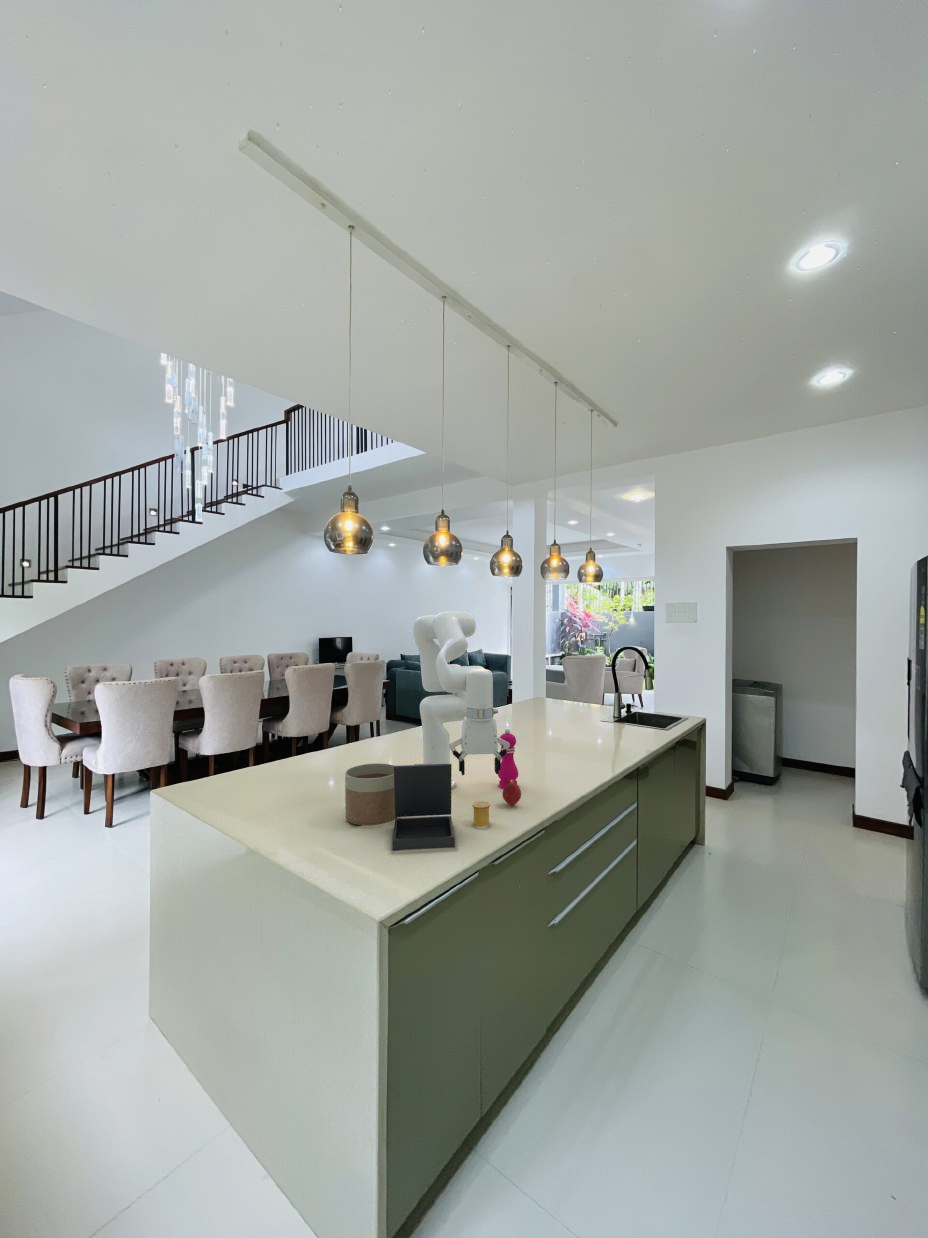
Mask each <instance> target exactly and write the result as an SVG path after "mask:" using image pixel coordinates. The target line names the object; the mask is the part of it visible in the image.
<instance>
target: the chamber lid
mask: <svg viewBox="0 0 928 1238" xmlns="http://www.w3.org/2000/svg"><path fill="white" fill-rule="evenodd" d="M452 766H453V765H452V763H450V764H432V763H427V764H423V763H413V764H406V765H405V764H404V765H394V796H395V817H397V818H411V817H433V816H452V788H451V779H452Z"/></svg>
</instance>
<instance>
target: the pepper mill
mask: <svg viewBox="0 0 928 1238" xmlns="http://www.w3.org/2000/svg"><path fill="white" fill-rule="evenodd" d="M499 738H501V739H503V740H505V741H507V742H509V743H510V747H509V749H508V751H507V753H506V754H505V755H504V756H503V757H502V759H501V770H499V774H497V777H498V778H499V779H500V780H499V781H498V786H499V787H500V788H501V789H504V787H505V786H506V785H507V784H509V782H510V780H513V781H514V783H515V784H516V785H517V786H518V781H517V779H518V777H519V770H518V766H517V765H516V763H515V759H514V758H515V757H514V753H515V752H516V747H515V746H516V744H517V739H516V738H517V737H516V735H514V734H513V733H511V730H510V729H509V728H506V729H505V730H504V733H502V734H501V735H500V736H499ZM498 745H499V746H500V751H501V750H502V749H503V747H504V745H502V744H500V743H498Z"/></svg>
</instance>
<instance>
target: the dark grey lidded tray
mask: <svg viewBox="0 0 928 1238" xmlns="http://www.w3.org/2000/svg"><path fill="white" fill-rule="evenodd" d="M393 824H394V825H393V831H392V840H391V841H392V842H391V843H392V845H391V848H392V851H407V850H410V851H411V850H428V849H449V848H456V836H455V830H454V824H453V818H452V815H434V816H412V817H397V818H395V819H394V823H393Z"/></svg>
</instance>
